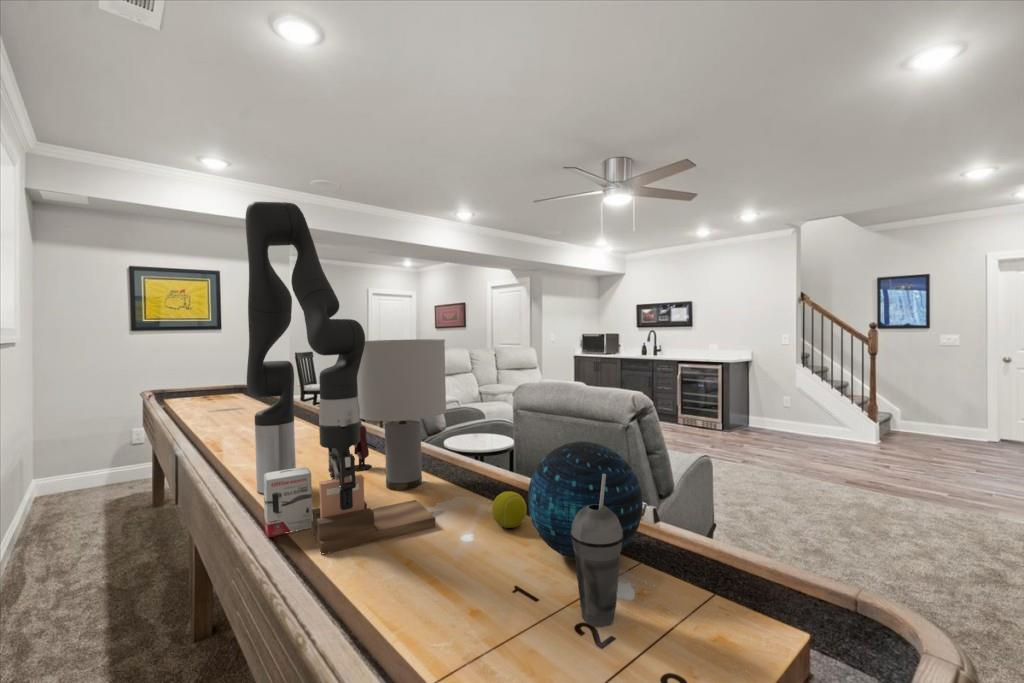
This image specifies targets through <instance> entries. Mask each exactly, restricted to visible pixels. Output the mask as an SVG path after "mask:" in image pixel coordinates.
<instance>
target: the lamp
mask: <svg viewBox="0 0 1024 683" xmlns="http://www.w3.org/2000/svg"><path fill="white" fill-rule="evenodd" d="M445 342H446V339H444V338H442V339H441V338H436V339H435V338H434V339H433V338H431V339H430V338H428V339H427V338H426V339H425V338H422V339H417V338H416V339H384V340H383V339H381V340H380V339H378V340H377V339H376V340H365V346H364V351H363V355H362V359H361V363H360V367H359V371H358V375H357V385H358V402H359V410H360V419H361V420H364V421H365V420H366V421H375V422H386V423H385V424H384V446H385V447H384V449H385V450H384V452H385V487H386V489H388V490H390V491H409V490H413V489H417V488H419V487H421V486H422V484H423V475H422V474H423V473H422V472H423V471H422V470H423V469H422V436H421V435H422V432H421V431H422V430H421V428H422V427H421V422H420V421H419V420H423V419H424V420H425V419H428V418H434V417H438V416H441V415H443V414H446V413H447V397H446V395H447V394H446V393H447V392H446V391H447V390H446V356H445V355H446V351H445V350H446V348H445V347H446V346H445V345H446V344H445Z"/></svg>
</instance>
